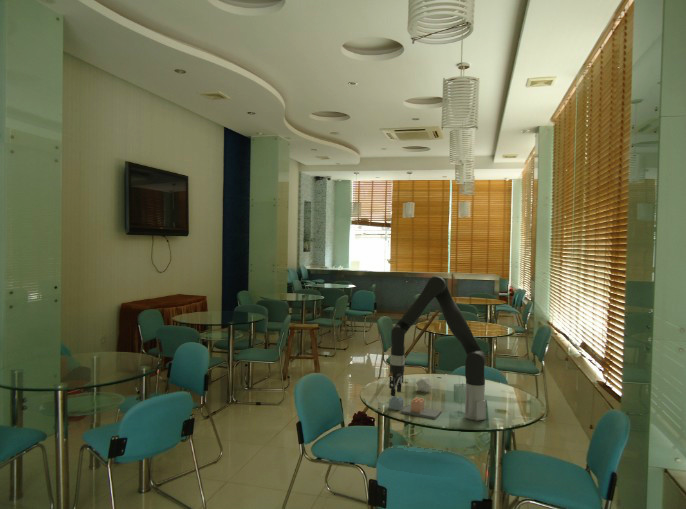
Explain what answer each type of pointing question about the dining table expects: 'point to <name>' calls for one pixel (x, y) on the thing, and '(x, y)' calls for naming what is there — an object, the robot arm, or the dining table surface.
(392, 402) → the brick slate
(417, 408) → the brick terracotta
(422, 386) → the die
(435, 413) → the baseplate
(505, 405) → the dining table surface
